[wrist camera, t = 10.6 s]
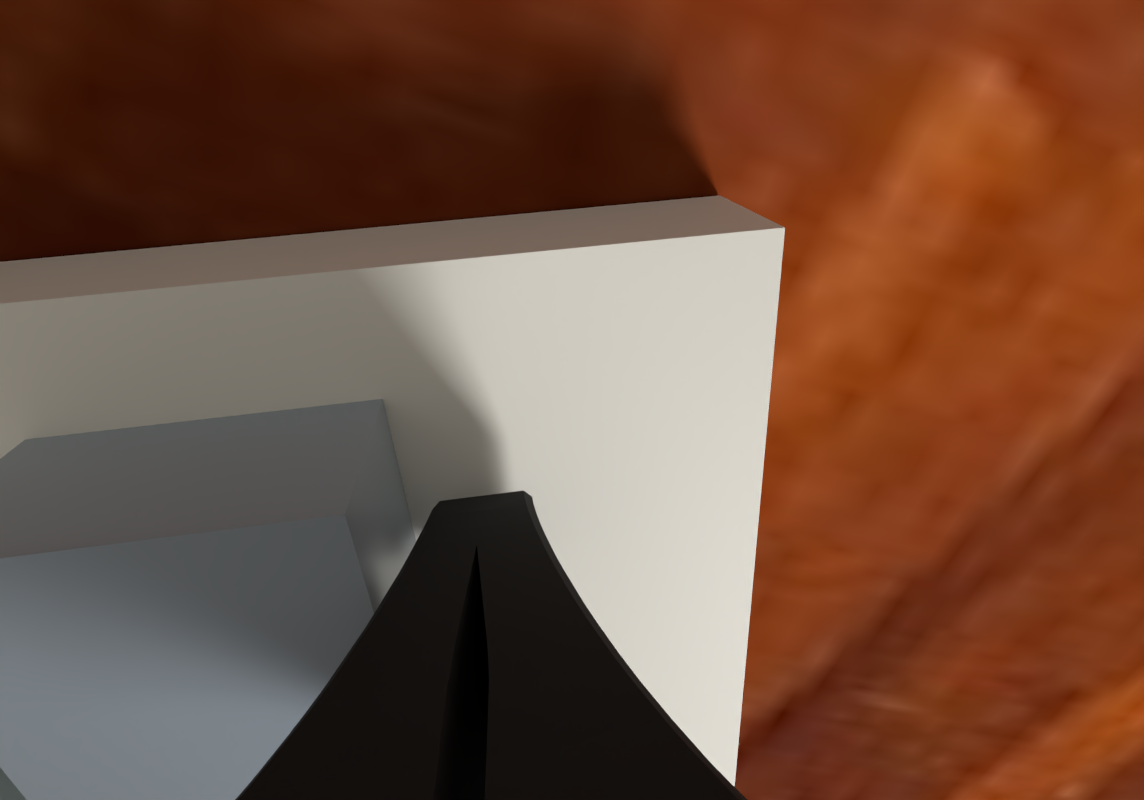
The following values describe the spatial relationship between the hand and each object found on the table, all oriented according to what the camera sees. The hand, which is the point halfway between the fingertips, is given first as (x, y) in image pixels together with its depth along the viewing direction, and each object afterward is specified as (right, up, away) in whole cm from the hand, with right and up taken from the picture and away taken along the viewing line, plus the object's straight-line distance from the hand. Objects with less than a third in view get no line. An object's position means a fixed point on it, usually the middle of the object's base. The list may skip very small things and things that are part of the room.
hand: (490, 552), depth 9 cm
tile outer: (-3, 0, 0) cm, 3 cm away
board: (-2, -2, +5) cm, 5 cm away
